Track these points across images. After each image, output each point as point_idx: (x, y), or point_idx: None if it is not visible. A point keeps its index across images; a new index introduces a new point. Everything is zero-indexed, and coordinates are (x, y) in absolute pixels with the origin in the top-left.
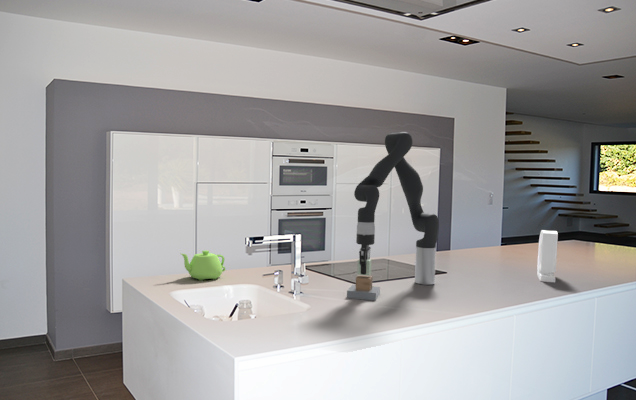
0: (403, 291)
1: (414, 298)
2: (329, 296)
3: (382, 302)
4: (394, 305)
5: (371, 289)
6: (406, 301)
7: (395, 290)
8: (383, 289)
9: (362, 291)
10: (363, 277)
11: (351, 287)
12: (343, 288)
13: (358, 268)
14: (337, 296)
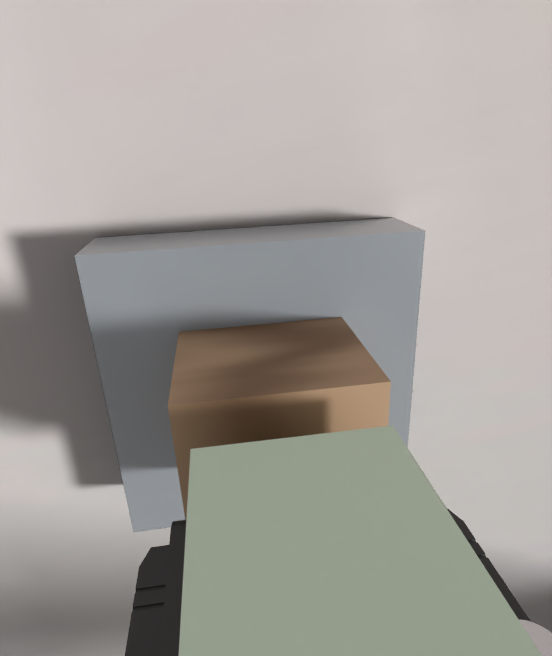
0: (507, 559)
1: None
2: (51, 12)
3: (110, 536)
4: (70, 615)
5: None
6: None
7: (526, 512)
8: (543, 437)
9: (134, 416)
10: None
11: (274, 258)
12: (514, 79)
13: (185, 552)
14: (106, 116)
